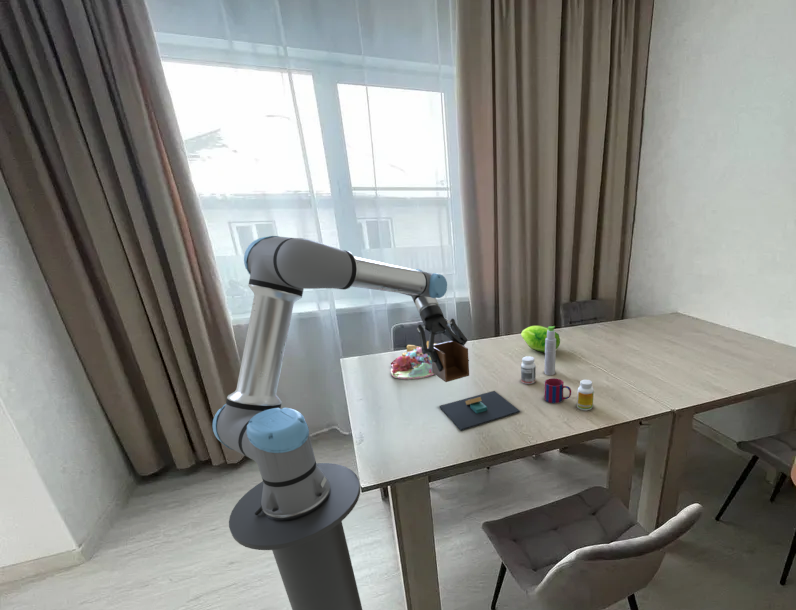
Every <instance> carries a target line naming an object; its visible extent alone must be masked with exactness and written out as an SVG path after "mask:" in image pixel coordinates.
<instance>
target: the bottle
mask: <svg viewBox="0 0 796 610" xmlns="http://www.w3.org/2000/svg"><path fill="white" fill-rule="evenodd" d="M547 328H548V330H547V338H546V339H545V352H544V374H545V375H547V376H553V375H555V374H556V355H557V349H556V338H555V332H556V331H555V328H556V326H555V325H553V326H552V325H550V326H548V327H547Z"/></svg>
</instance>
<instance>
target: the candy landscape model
mask: <svg viewBox="0 0 796 610" xmlns="http://www.w3.org/2000/svg"><path fill="white" fill-rule="evenodd" d="M426 343H427V348H428V347H429V340H426ZM435 344H437V342H434V345H435ZM390 366H391V369H390V374H391V377H393V378H395V379H399V380H400V379H402V380H413V379H414V380H419V379H423V378H424V379H425V378H429V377H431V376H433V375H435V374H434V373H432V362H431V358H430V356H429V355H428V354H423V353H422V348H421V345H419V346H418V345H415V344H407V345H406V352H402V353H401V355H399V356H398V357H396V358H395V359H394V360H393V361H392V362H390Z"/></svg>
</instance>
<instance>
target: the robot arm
mask: <svg viewBox="0 0 796 610" xmlns="http://www.w3.org/2000/svg"><path fill="white" fill-rule="evenodd" d="M243 262H244V263H243V265H244V267H245V269H246V271H247V274H248V275H249V280H248V285H247V286H248V288H250V290H251V291H252V293H253V299H252V305H251V310H250V316H249V322H248V326H247V332H246V337H245V342H244V346H243V353H242V358H241V363H240V368H239V373H238V378H237V384H236V389H235V391H233V392H232V393H229V394H228V395H227V397H226V401H225V404H223V405H222V406H221V408H219V409H218V410H217V411H216V413H215V414H214V416H213V418H212V432H213V434H214V436H215V438H216V439H217V440H218V441H219V442H220V443H221V444H222V445H223V446H225V448H228V449H230V450H232V451H235V452H236V453H239V454H241V455H242V456H244V457H246V458H247V459H248V458H249V459H250V460H253V461H254V462H255V463H256V464H257V467H258V470H259V473H260V475H261V476H260V477H261V479H262V481H263V492H262V500H261V507H260V508H259V509H258V510H257V511H256V512H255V515H258V514H259V513H260V512H261V511H262V510H263V513H264V515H265V516H266V517H267V518H268V519H270V520H274V521H291V520H295V519H299V518H302V517H304V516H307V515H309V514H311V513H312V512H314V511H316V510H317V509H319V508H320V507H321V506H322V505H323V504H324V503H325V502H326V501H327V500H328V498H329V496H330V493H331V487H330V483H329V480H328V479H327V478H326V476H325V475H324V474H323V473H322V471H321V470H320V469H319V467H318V466H317V464H316V463H317V461H316V457H315V456H316V455H315V452H314V448H313V444H312V440H311V436H310V430H309V426H308V423H307V422H306V419H305V416H304V415H303V414H302V413H301V412H300V411H298V410H296V409H293V408H291V407H290V408H289V407H283V408H282V403H283V401H282V400H281V398H280V397H279V396H278V394H277V393H278V387H279V383H280V378H281V372H282V367H283V362H284V355H285V351H286V346H287V341H288V336H289V330H290V325H291V320H292V315H293V309H294V305H295V303H296V302H297V301H299V300H301V299H302V298H303V294H304V289H309V290H311V289H313V290H315V289H332V290H333V289H335V290H344V291H345V290H349V289H350V288H359V289H366V290H373V291H374V290H375V291H382V292H390V293H396V294H402V295H405V296H410V297H411V298H412V300H413V303H414V306H415V308H416V310H417V312H418V314H419V317H420V319H421V322H422V323H423V324H422V325H421V324H418V326H417V328H416V332H417V334H418V336H419V341H420V347H421V348H422V353H423V354H428V355H429V356H430V358H431V360H432V362H435V363H436V365H437V368H438V370H439V372H440V371H442V369H443V365H442V363H441V361H440V359H439V356H438V354H437V352H436V351H434V352H433V348H434V343H435V336H436V335H438V334H443V335H444V336H446V337H447V338H448V339H449V340H450V341H454V342H457V343H459V344H461V345H463V346H465V345H466V344H467V342H468V338H467V337H466V336H465V334H464V332H462V330H461V329H460V327H459V325H457V323H456V320H455V319H454V318H451V319H449V320H447V319H446V318H445V316H444V314H443V311H442V308H441V307H440V305H439V301H438V300H437V299H441V298H444V296H445V295H446V293H447V291H448V290H447V289H448V281H447V278H446V277H445V276H444V275H443V274H441V273H436V272H428V271H427V272H426V271H423V270H422V269H419V268H416V269H415V268H409V267H404V266H401V265H400V266H399V265H394V264H390V263H385V262H381V261H377V260H372V259H367V258H362V257H358V256H355V255H354V254H353V253H352V252H351V251H349V250H345V249H341V248H338V247H335V246H331V245H327V244H324V243H321V242H318V241H315V240H312V239H308V238H302V237H287V236H279V235H269V236H263V237H259V238H257V239H255V240H253V241H252V242H251V243H249V245H248V246H247V248H246V249H245V251H244V254H243ZM425 331H428V332H429V334H428V341H429V347H428V348H427V339H426V333H425Z"/></svg>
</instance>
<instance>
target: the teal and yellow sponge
mask: <svg viewBox="0 0 796 610" xmlns="http://www.w3.org/2000/svg"><path fill="white" fill-rule="evenodd" d="M470 408H471V409H472V410H473V411H475V412H476V413H480V412H484V411H487V407H486V406H485V405H484V404H483V403H482V402H481V401H479V402H476V403H472V404H470Z"/></svg>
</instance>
